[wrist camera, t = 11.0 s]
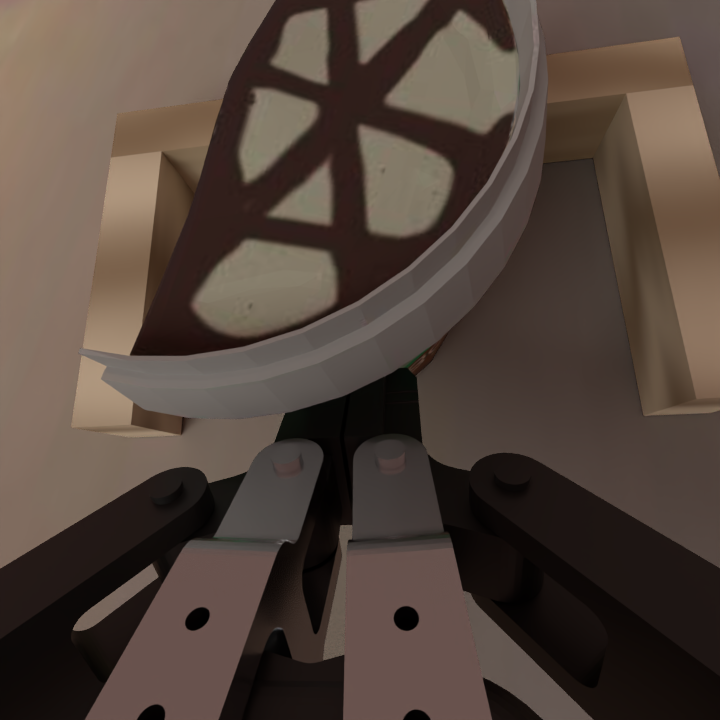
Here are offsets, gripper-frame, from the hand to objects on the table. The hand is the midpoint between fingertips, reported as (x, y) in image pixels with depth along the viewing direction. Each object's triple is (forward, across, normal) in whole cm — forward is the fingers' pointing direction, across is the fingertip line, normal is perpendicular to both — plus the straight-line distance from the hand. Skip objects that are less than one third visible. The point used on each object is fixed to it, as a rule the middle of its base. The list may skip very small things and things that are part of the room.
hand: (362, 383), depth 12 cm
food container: (+6, +1, 0) cm, 6 cm away
